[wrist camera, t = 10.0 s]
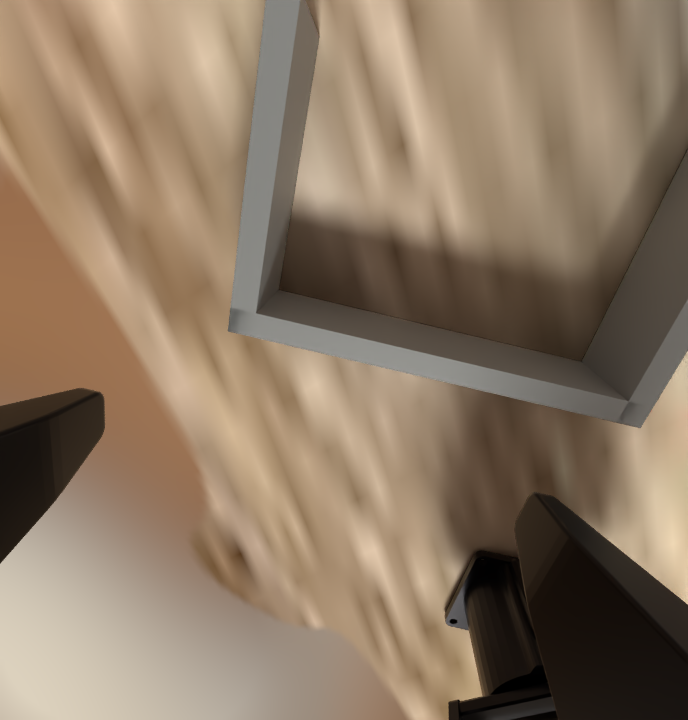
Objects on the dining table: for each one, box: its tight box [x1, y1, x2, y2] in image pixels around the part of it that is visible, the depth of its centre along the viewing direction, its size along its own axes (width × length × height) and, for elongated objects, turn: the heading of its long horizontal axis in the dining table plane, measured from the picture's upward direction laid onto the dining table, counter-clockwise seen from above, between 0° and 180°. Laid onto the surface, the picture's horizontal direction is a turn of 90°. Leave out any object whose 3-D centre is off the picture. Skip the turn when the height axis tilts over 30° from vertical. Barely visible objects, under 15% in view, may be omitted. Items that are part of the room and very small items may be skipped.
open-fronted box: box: [228, 0, 688, 428], centre depth 16 cm, size 11×17×4 cm, turn 77°
